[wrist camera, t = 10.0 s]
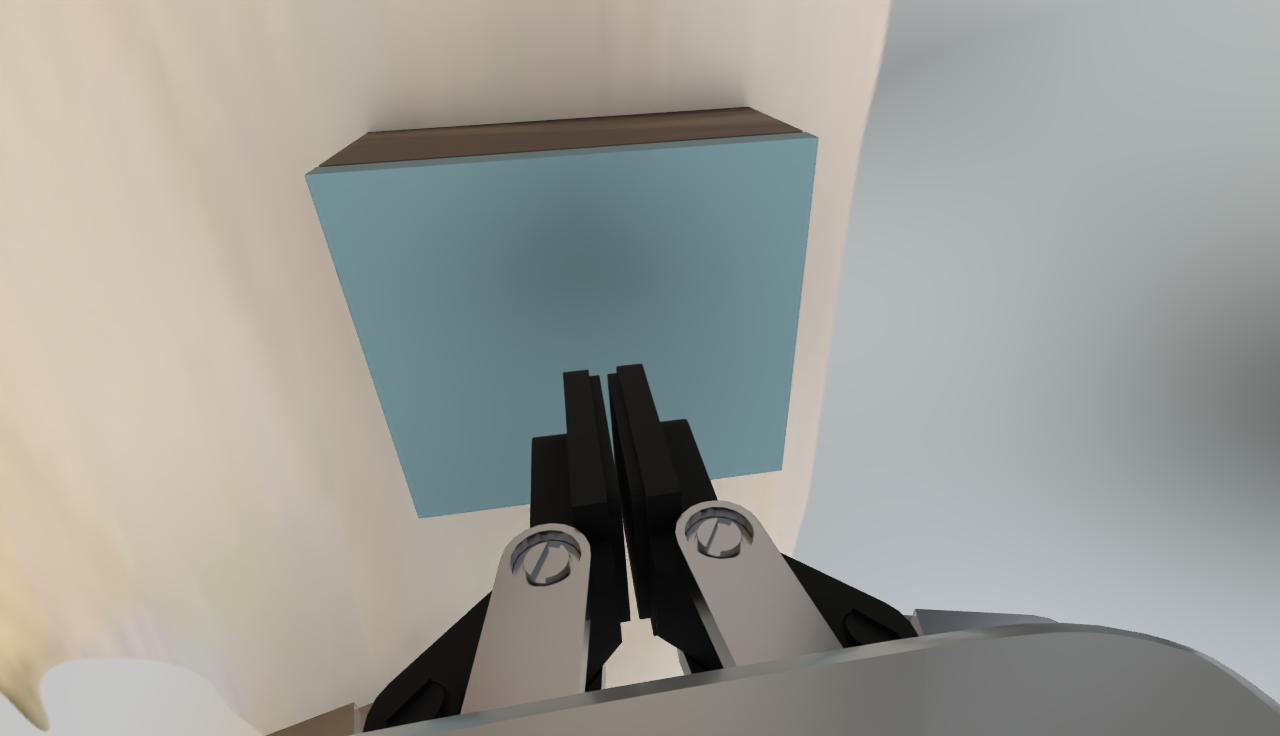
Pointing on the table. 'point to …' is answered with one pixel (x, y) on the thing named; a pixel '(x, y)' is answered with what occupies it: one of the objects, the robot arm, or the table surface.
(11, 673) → the table surface
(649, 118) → the storage box
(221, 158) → the table surface
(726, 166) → the lid
